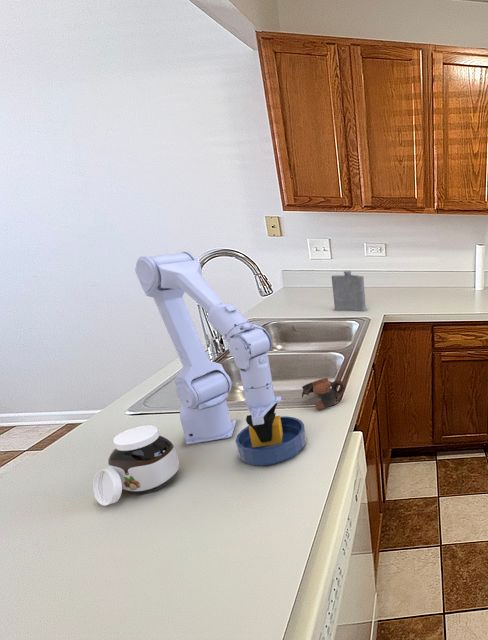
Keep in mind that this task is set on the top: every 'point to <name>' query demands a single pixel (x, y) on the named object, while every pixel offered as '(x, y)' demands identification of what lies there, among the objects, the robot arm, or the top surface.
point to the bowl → (275, 452)
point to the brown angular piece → (324, 392)
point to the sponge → (276, 434)
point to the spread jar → (136, 465)
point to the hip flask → (348, 292)
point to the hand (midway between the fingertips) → (267, 435)
